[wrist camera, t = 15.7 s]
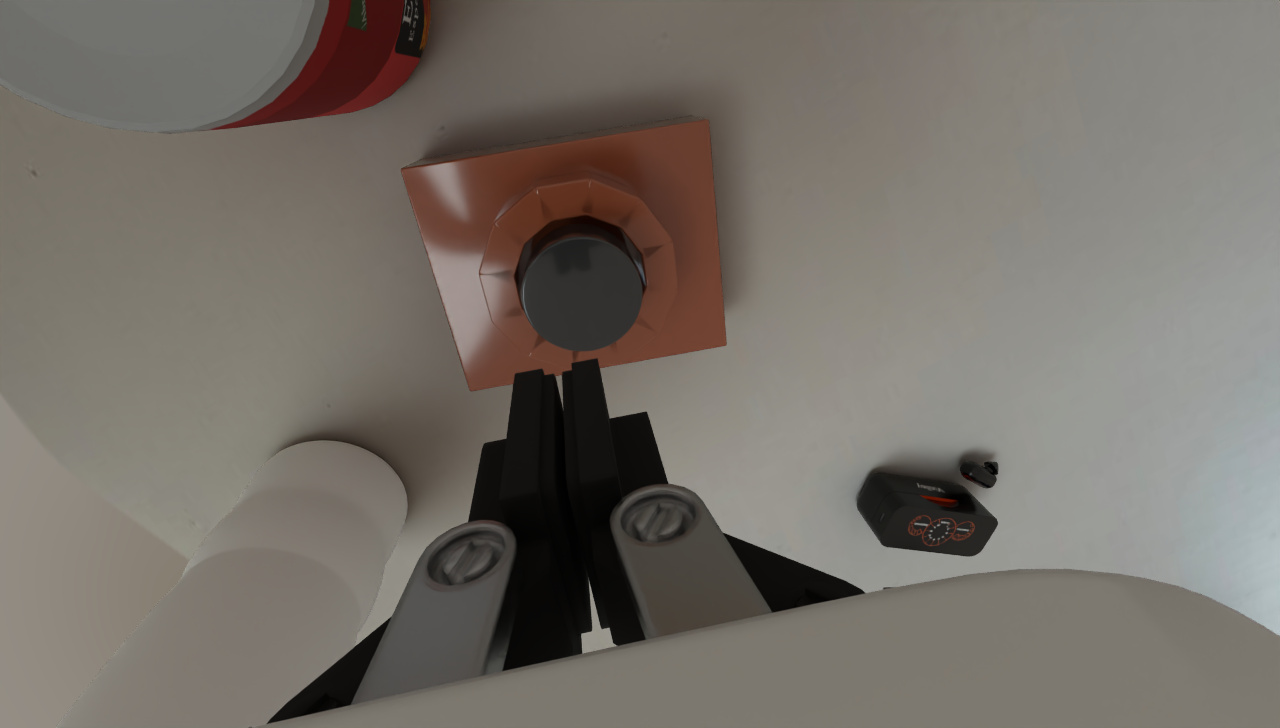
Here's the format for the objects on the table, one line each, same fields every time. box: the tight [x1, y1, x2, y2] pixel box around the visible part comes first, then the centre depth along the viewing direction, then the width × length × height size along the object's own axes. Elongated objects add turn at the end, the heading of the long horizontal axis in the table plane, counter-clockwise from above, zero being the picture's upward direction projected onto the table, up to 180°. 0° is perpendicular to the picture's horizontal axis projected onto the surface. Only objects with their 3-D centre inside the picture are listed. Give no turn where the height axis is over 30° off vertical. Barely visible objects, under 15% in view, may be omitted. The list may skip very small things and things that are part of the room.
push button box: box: [401, 116, 727, 391], centre depth 23 cm, size 11×9×5 cm
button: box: [521, 224, 643, 351], centre depth 20 cm, size 4×4×2 cm
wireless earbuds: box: [857, 461, 998, 556], centre depth 32 cm, size 5×7×3 cm, turn 76°
